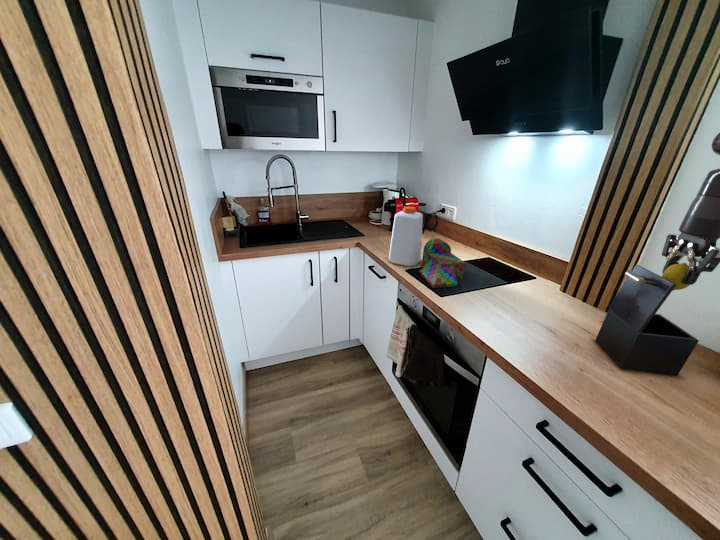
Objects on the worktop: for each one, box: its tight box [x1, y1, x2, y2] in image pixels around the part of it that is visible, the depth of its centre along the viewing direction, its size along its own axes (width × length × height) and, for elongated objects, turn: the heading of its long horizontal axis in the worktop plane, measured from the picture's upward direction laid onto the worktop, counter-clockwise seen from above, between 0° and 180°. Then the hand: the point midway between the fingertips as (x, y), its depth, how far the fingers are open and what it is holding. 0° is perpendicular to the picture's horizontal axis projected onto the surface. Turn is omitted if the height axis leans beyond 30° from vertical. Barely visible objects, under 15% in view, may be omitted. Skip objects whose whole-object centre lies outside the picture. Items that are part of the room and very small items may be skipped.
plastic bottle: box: [388, 206, 424, 267], centre depth 144 cm, size 15×15×28 cm
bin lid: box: [608, 264, 677, 332], centre depth 77 cm, size 14×13×5 cm
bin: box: [594, 308, 700, 377], centre depth 81 cm, size 14×13×12 cm
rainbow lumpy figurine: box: [418, 237, 466, 289], centre depth 132 cm, size 25×17×14 cm
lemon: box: [661, 262, 690, 291], centre depth 75 cm, size 6×6×8 cm
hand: (676, 278), depth 75 cm, fingers closed on lemon, 5 cm apart
